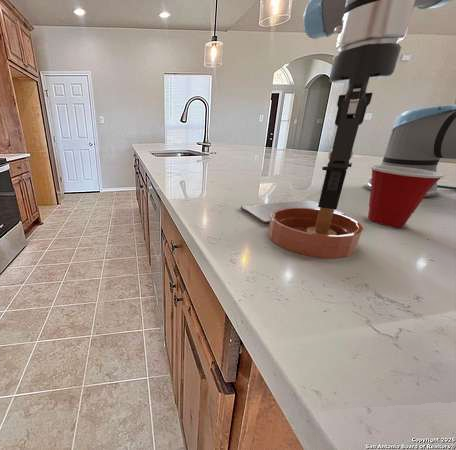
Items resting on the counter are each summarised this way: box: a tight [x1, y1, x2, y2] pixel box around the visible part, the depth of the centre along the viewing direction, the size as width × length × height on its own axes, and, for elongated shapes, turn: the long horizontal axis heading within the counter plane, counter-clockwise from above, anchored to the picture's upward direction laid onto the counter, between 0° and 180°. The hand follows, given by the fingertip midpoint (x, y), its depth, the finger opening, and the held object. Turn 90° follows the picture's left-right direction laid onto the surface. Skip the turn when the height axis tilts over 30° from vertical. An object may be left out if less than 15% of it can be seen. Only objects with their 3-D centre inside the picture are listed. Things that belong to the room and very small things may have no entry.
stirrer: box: [306, 148, 354, 235], centre depth 43 cm, size 5×5×17 cm
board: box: [240, 199, 346, 225], centre depth 60 cm, size 20×11×1 cm, turn 99°
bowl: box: [267, 208, 364, 259], centre depth 46 cm, size 14×14×4 cm
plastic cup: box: [367, 164, 445, 229], centre depth 51 cm, size 11×11×12 cm
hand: (327, 205), depth 44 cm, fingers closed on stirrer, 2 cm apart
